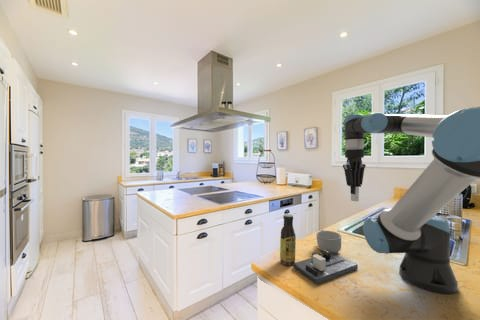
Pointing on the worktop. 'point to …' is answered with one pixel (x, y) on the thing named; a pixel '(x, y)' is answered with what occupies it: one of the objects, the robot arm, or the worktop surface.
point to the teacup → (329, 241)
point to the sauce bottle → (287, 241)
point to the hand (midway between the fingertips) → (354, 200)
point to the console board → (333, 267)
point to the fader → (319, 262)
